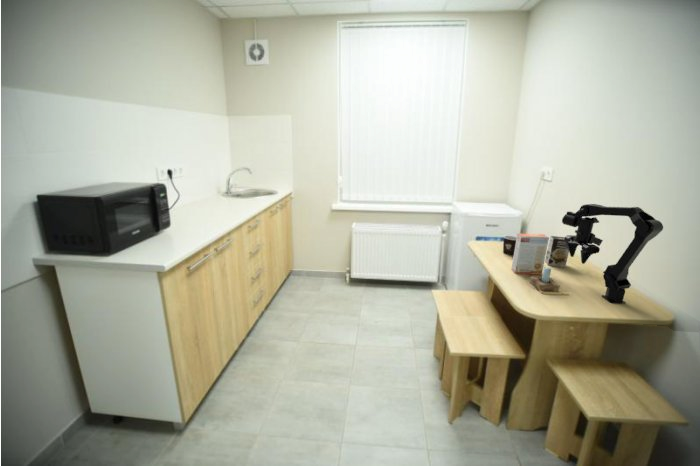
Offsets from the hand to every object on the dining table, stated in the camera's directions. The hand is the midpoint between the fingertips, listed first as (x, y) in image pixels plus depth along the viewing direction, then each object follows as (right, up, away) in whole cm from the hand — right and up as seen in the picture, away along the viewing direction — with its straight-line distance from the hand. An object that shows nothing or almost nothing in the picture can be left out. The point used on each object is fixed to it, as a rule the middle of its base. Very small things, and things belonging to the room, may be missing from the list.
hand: (577, 260), depth 166 cm
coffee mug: (-13, 0, +41) cm, 44 cm away
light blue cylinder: (-19, -13, -3) cm, 23 cm away
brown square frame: (-19, -13, -3) cm, 23 cm away
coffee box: (+5, -5, +26) cm, 27 cm away
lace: (-17, -14, -8) cm, 24 cm away
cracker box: (-18, -8, +15) cm, 24 cm away
